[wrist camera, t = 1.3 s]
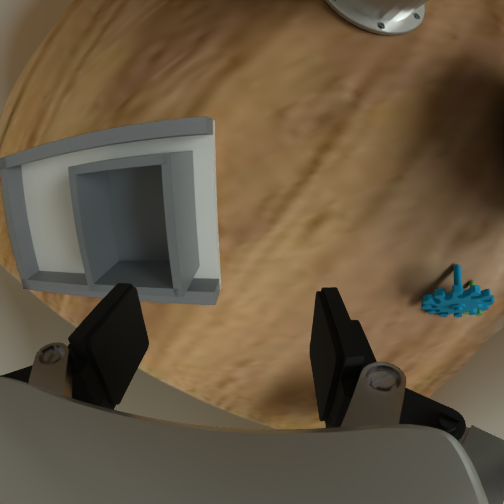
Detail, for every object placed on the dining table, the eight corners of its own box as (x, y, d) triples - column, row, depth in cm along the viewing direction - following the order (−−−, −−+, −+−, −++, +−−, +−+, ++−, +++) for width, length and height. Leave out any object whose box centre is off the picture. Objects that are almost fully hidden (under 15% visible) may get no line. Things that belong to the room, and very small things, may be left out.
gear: (405, 309, 31) (473, 290, 22) (407, 264, 33) (469, 238, 24) (449, 326, 33) (506, 313, 24) (450, 288, 36) (504, 270, 27)
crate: (101, 160, 27) (64, 167, 21) (192, 150, 26) (170, 153, 20) (115, 264, 31) (86, 290, 25) (199, 265, 31) (183, 297, 24)
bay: (19, 155, 28) (-1, 159, 24) (214, 120, 26) (206, 116, 22) (39, 276, 34) (23, 288, 30) (221, 286, 33) (215, 305, 29)
